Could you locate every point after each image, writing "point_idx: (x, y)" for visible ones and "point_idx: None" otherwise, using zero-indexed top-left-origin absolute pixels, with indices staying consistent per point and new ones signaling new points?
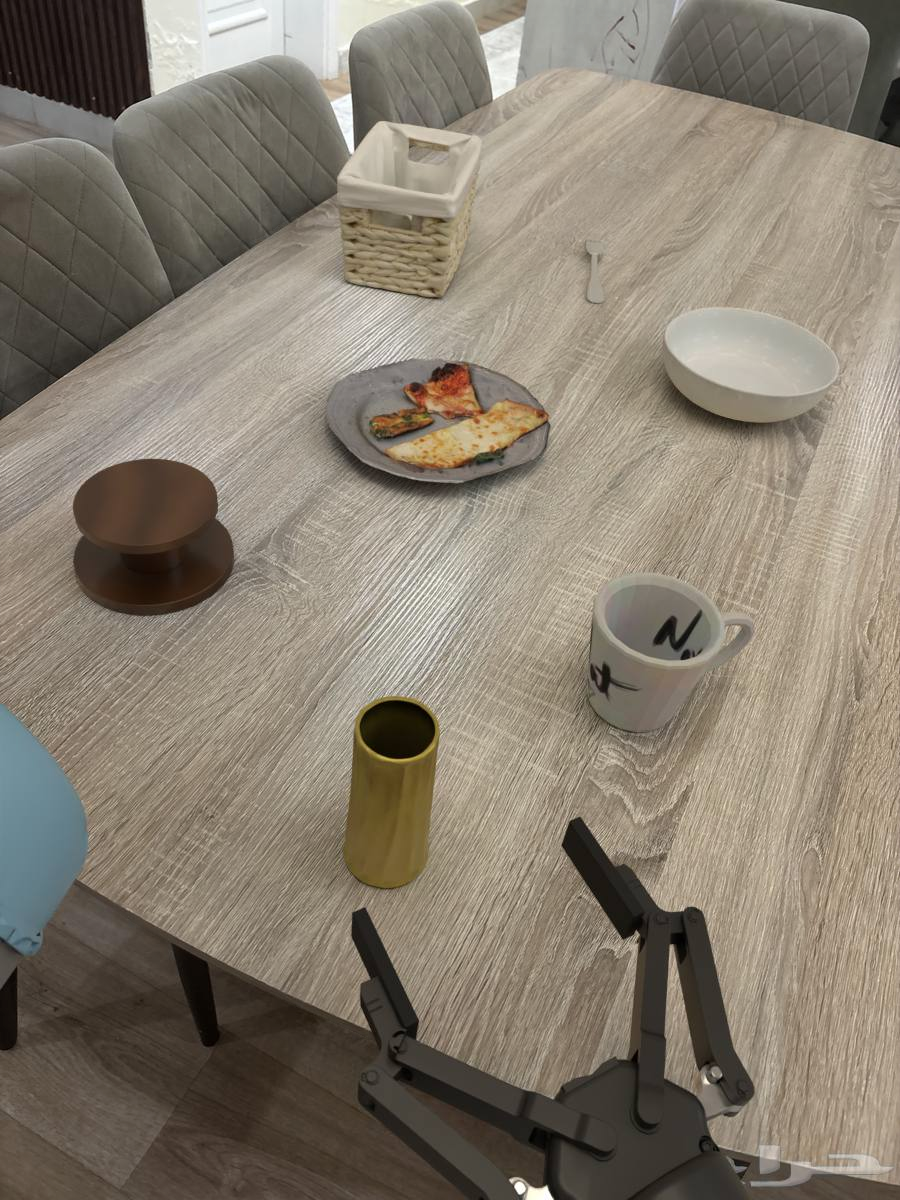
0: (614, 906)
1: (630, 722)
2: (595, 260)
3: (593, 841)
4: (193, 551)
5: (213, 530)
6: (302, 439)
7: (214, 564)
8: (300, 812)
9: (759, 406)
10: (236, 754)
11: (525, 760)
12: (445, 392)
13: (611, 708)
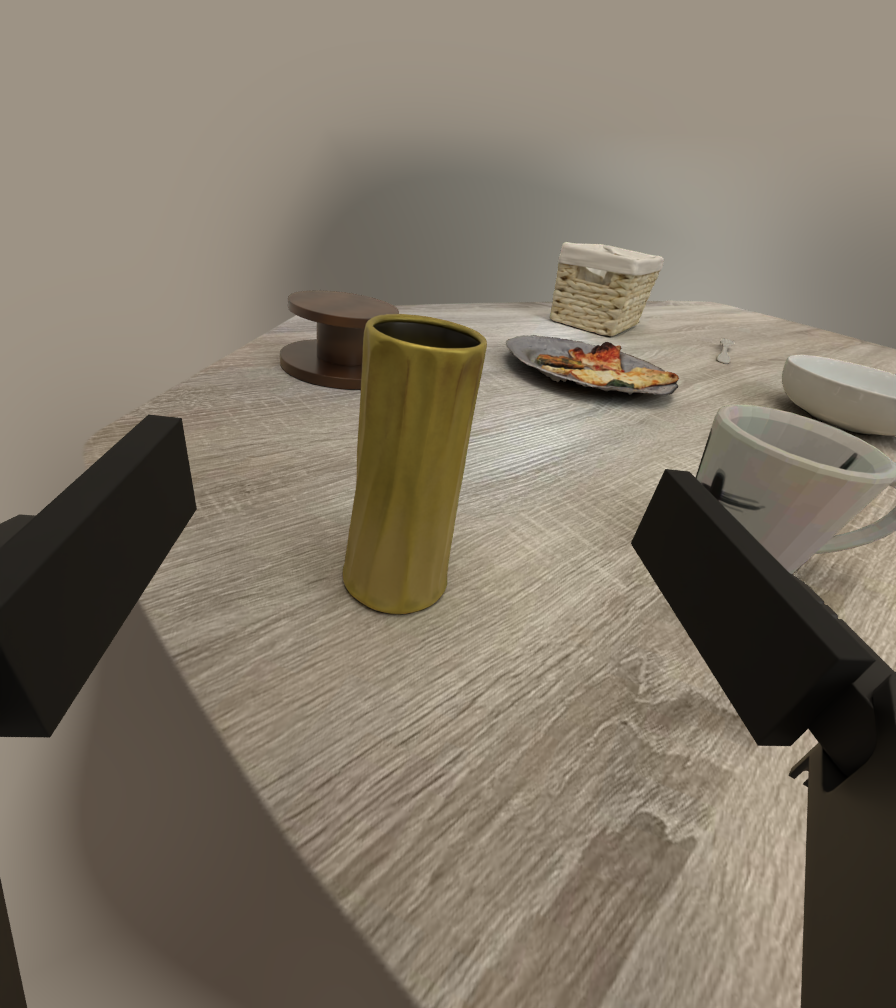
0: (752, 642)
1: None
2: (726, 348)
3: (715, 504)
4: None
5: None
6: (485, 355)
7: None
8: (330, 517)
9: (879, 408)
10: (308, 464)
11: (592, 562)
12: (598, 359)
13: None
